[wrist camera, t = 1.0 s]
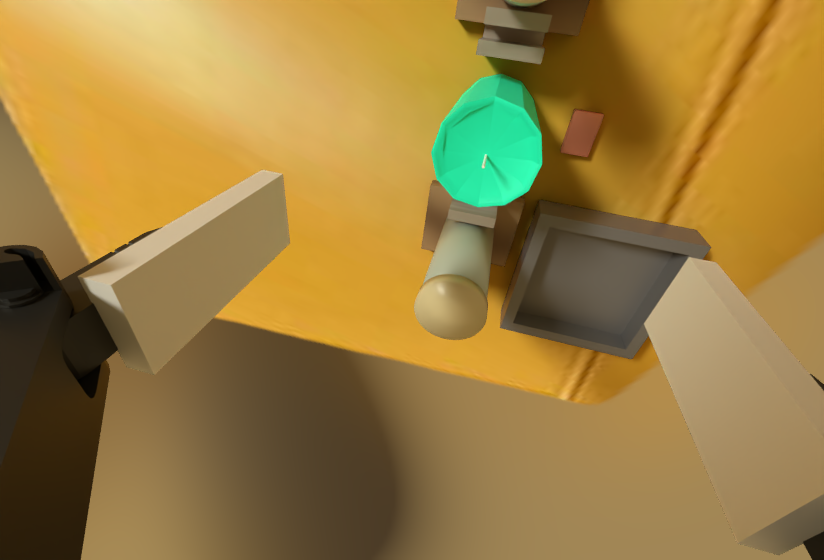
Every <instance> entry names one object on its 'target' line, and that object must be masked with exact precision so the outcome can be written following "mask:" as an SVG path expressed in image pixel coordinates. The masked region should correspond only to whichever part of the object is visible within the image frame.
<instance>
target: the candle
mask: <svg viewBox="0 0 824 560" xmlns="http://www.w3.org/2000/svg"><path fill="white" fill-rule="evenodd" d="M431 154H432V159H433V164H434V168H435V173H436V178H437V180H438V181H439V182H440V183H441V185H442V186H443V187H444V188H445V189H446V190H447V192H448V193H449V194H450V195H451V196H452V198H453V199H456V200H459V201H462V202H464V203H467V204H470V205H473V206H476V207H488V206H502V205H506V204H508V203H509V202H511V201H513V200H514V199H516V198H518V197H519V196H521V195H523V194H525V193H526V192H528V191H529V189H530V187H531V185H532V183H533V181H534V179H535V177H536V175H537V173H538V171H539V170H540V168H541V166H542V135H541V130H540V125H539V121H538V117H537V112H536V108H535V103H534V99H533V98H532V96H531V95H530V93H529V92H528V90H527V89H526V87H525V86H524V84H523V83H522V81H519V80H517V79H514V78H512V77H509V76H507V75H504V74H497V75H493V76H488V77H484V78H480V79H479V80H478V81H477V82H475V83H474V84H473V85H472V86H471V87H470V88H469V89H468V90H467V91H466V92H465V93H464V94H463V95H462V96H461V98H460V99H459V100H458V102H457V103H456V104H455V106H454V107H453V108H452V110H451V111H450V112H449V114H448V115H447V116H446V118H445V119H444V121H443V122H442V123H441V126H440V129H439V132H438V135H437V137H436V140H435V143H434V146H433V149H432V152H431Z"/></svg>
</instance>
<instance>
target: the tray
mask: <svg viewBox="0 0 824 560" xmlns="http://www.w3.org/2000/svg"><path fill="white" fill-rule="evenodd" d="M710 248H711V246H710V245H709V244H708V243H707V242H706V241H705V239H704V238H703V237H702V236H701V235H700V234H699V232H698V231H697V230H693V229H688V228H683V227H678V226H673V225H668V224H662V223H657V222H652V221H647V220H642V219H637V218H631V217H626V216H621V215H616V214H611V213H606V212H601V211H595V210H590V209H585V208H580V207H575V206H570V205H565V204H559V203H554V202H549V201H544V200H539V201H538V204H537V207H536V210H535V213H534V216H533V219H532V221H531V224H530V227H529V230H528V233H527V236H526V239H525V242H524V245H523V248H522V251H521V254H520V257H519V259H518V262H517V265H516V268H515V271H514V274H513V277H512V280H511V283H510V286H509V289H508V292H507V294H506V297H505V300H504V303H503V306H502V309H501V322H500V328H503V329H507V330H511V331H515V332H519V333H523V334H528V335H532V336H536V337H540V338H544V339H549V340H553V341H557V342H561V343H565V344H570V345H574V346H578V347H582V348H586V349H590V350H595V351H599V352H603V353H607V354H611V355H616V356H620V357H624V358H628V359H633V357H634V356H635V354H636V353H637V352H638V350H639V349H640V347H641V346H642V344H643V343H644V342H645V340H646V339H647V337H648V336H649V335H648V332H647V330H646V328H645V325H644V323H645V321H646V320H647V318H648V317H649V315H650V314H651V312H652V311H653V310H654V308H655V307H656V305H657V304H658V302H659V301H660V299H661V298H662V296H663V295H664V293H665V292H666V290H667V289H668V287H669V286H670V284H671V283H672V281H673V280H674V278H675V277H676V276H677V274H678V273H679V271H680V270H681V268H682V267H683V265H684V264H685V262H686V261H687V259H688V258H689V257H692V258H697V259H702V260H703V258H704V257H705V255H706V254H707V253H708V251H709V250H710Z"/></svg>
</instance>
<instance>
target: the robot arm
mask: <svg viewBox="0 0 824 560" xmlns="http://www.w3.org/2000/svg"><path fill="white" fill-rule="evenodd" d="M288 244H290V238H289V229H288V219H287V209H286V199H285V190H284V180H283V174H281V173H276V172H271V171H266V170H261V171H259V172H257V173H256V174H254V175H252V176H251V177H249V178H247V179H245V180H244V181H242V182H240V183H238V184H237V185H235V186H233V187H232V188H230V189H228V190H226V191H225V192H223V193H221V194H219V195H218V196H216V197H214V198H212V199H211V200H209V201H207V202H206V203H204V204H202V205H200V206H199V207H197V208H195V209H193V210H192V211H190V212H188V213H187V214H185V215H183V216H181V217H180V218H178V219H176V220H174V221H173V222H171V223H169V224H167V225H166V226H164V227H161V228H158V229H155V230H152V231H149V232H146V233H144V234H142V235H140V236H138V237H137V238H135V239H133V240H131V241H130V242H129V244H128V245H127V244H124V245H123V246H121V247H119V248H117V249H115V252H114V253H113V252H110V253H108V254H107V255H105V256H103V257H101V258H100V259H98V260H96V261H94V262H92V263H91V264H89V265H87V266H86V267H84V268H82V269H80V270H78V271H76V272H75V273H73V274H71V275H69V276H68V277H66V278H64V279H62V280H61V281H60V280H59V278H58V277H57V275H56V273H55V272H54V270H53V268H52V266H51V265H50V263H49V262H48V260H47V258H46V256H45V254H44V253H43V251H41V250H40V249H38V248H37V247H33V246H27V245H11V246H3V247H0V560H81V554H82V547H83V541H84V534H85V528H86V521H87V515H88V509H89V503H90V496H91V490H92V483H93V477H94V471H95V464H96V457H97V451H98V444H99V438H100V432H101V425H102V419H103V412H104V407H105V400H106V394H107V387H108V381H109V375H110V368H109V364H108V362H107V361H106V359H107V358H109V357H110V356H111V355H112V354H114V353H115V352H116V351H117V350H118V352H119V354H120V356H121V358H122V360H123V361H124V363H125V365H126V367H128V368H132V369H135V370H139V371H142V372H146V373H149V374H152V375H155V374H156V373H157V372H158V371H159V370H160V369H161V368H162V367H163V366H164V365H165V364H166V363H167V362H168V361H169V360H170V359H171V358H172V357H173V356H174V355H175V354H176V353H177V352H178V351H179V350H180V349H182V347H183V346H185V345H186V344H187V343H188V342H189V341H190V340H191V339H192V338H193V337H194V336H195V335H196V334H197V333H198V332H199V331H200V330H201V329H202V328H203V327H204V326H205V325H206V324H207V323H208V322H209V321H210V320H211V319H212V318H213V317H214V316H215V315H216V314H218V313H219V312H220V311H221V310H222V309H223V308H224V307H225V306H226V305H227V304H228V303H229V302H230V301H231V300H232V299H233V298H234V297H235V296H236V295H237V294H238V293H239V292H240V291H241V290H242V289H243V288H244V287H245V286H246V285H247V284H248V283H249V282H250V281H251V280H252V279H254V278H255V277H256V276H257V275H258V274H259V273H260V272H261V271H262V270H263V269H264V268H265V267H266V266H267V265H268V264H269V263H270V262H271V261H272V260H273V259H274V258H275V257H276V256H277V255H278V254H279V253H280V252H281V251H282V250H283V249H284V248H285V247H286V246H287V245H288ZM644 325H645V328H646V330H647V332H648V335H649V337H650V339H651V342H652V344H653V346H654V349H655V351H656V354H657V356H658V358H659V361H660V363H661V365H662V368H663V370H664V372H665V375H666V377H667V379H668V381H669V384H670V387H671V389H672V391H673V393H674V396H675V398H676V401H677V403H678V405H679V408H680V410H681V412H682V415H683V417H684V419H685V422H686V424H687V426H688V429H689V431H690V434H691V436H692V438H693V440H694V443H695V445H696V448H697V450H698V452H699V455H700V457H701V459H702V462H703V464H704V467H705V469H706V471H707V474H708V476H709V478H710V481H711V483H712V485H713V488H714V490H715V493H716V495H717V497H718V500H719V502H720V504H721V507H722V509H723V511H724V514H725V516H726V518H727V521H728V523H729V525H730V528H731V530H732V532H733V535H734V537H735V540H736V542H737V543H738V544H742V545H745V546H748V547H752V548H755V549H759V550H762V551H766V552H769V553H773V554H776V555H780V554H783V553H785V552H787V551H789V550H791V549H793V548H795V547H797V546H799V545H801V544H803V543H804V545H805V547H806V549H807V551H808V553H809V554H810V556H811V558H812V560H824V384H823V383H821V382H820V381H819V380H817V379H816V378H815V377H814V376H813V375H811V374H809V373H808V371H806V369H805V368H804V367H803V366H802V364H801V363H800V362H799V361H798V360H797V358H796V357H795V356H794V355H793V354H792V352H791V351H790V350H789V349H788V348H787V346H786V345H785V344H784V343H783V342H782V340H781V339H780V338H779V337H778V336H777V335H776V333H775V332H774V331H773V330H772V329H771V327H770V326H769V325H768V324H767V322H766V321H765V320H764V319H763V318H762V316H761V315H760V314H759V313H758V312H757V310H756V309H755V308H754V307H753V306H752V305H751V303H750V302H749V301H748V300H747V299H746V297H745V296H744V295H743V294H742V293H741V291H740V290H739V289H738V288H737V287H736V285H735V284H734V283H733V282H732V281H731V279H730V278H729V277H728V276H727V275H726V273H725V272H724V271H723V270H722V269H721V267H720V266H719V265H718V264H717V263H716V262H711V261H707V260H702V259H697V258H692V257H689V258H688V259H687V261H686V262H685V264H684V265H683V267H682V268H681V270H680V271H679V273H678V274H677V276H676V277H675V278H674V280H673V281H672V283H671V284H670V286H669V287H668V289H667V290H666V292H665V293H664V295H663V296H662V298H661V299H660V301H659V302H658V304H657V305H656V307H655V308H654V310H653V311H652V312H651V314H650V315H649V317H648V318H647V320H646V321H645V323H644Z"/></svg>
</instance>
